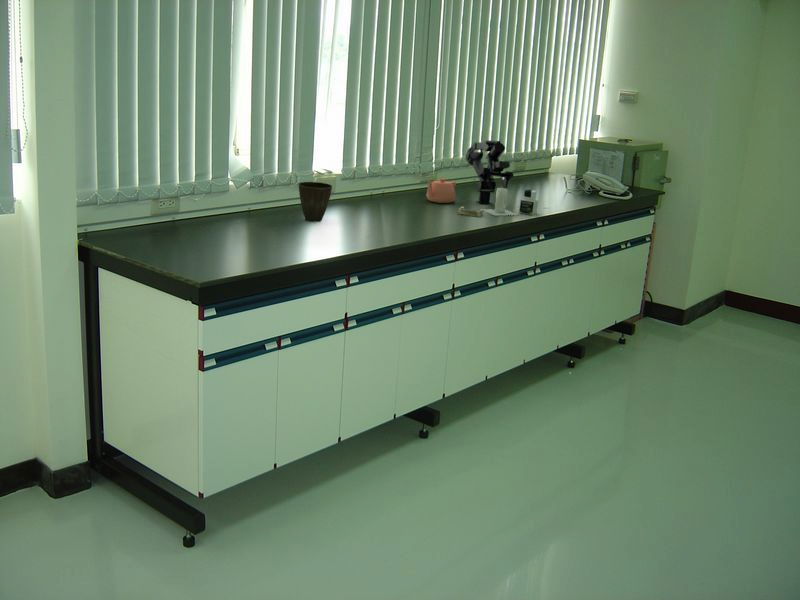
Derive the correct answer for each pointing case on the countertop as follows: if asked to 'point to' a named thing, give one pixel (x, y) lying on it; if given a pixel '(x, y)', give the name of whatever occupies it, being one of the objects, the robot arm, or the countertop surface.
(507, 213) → the mat
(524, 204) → the medicine bottle
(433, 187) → the teapot
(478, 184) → the robot arm
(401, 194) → the countertop surface
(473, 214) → the holder
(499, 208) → the pale grey rounded piece
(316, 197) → the plant pot
